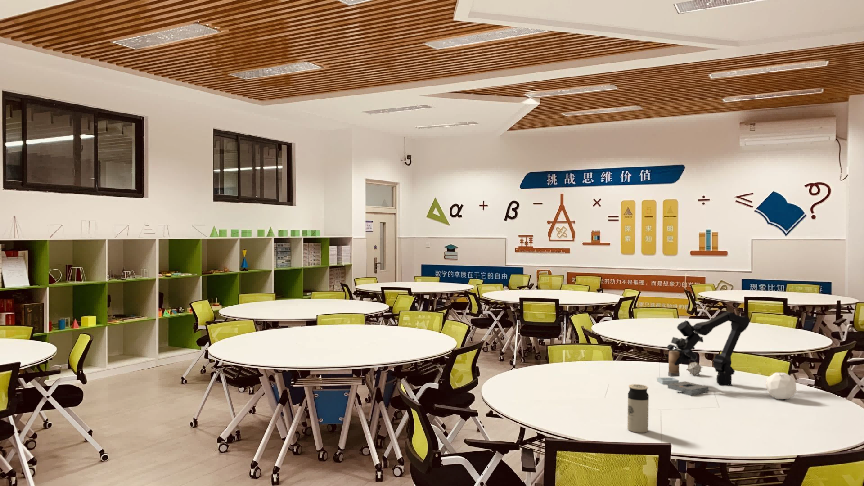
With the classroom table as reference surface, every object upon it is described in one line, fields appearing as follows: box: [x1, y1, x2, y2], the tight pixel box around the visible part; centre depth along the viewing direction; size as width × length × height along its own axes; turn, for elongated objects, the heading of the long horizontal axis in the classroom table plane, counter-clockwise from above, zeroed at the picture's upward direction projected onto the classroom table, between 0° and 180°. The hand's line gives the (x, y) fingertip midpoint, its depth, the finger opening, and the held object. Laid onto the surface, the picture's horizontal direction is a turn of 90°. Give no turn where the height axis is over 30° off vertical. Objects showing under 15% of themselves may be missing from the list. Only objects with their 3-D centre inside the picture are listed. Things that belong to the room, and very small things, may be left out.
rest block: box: [656, 377, 680, 385], centre depth 339 cm, size 9×7×3 cm
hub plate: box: [667, 381, 710, 397], centre depth 324 cm, size 14×14×3 cm
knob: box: [667, 350, 681, 378], centre depth 333 cm, size 5×5×13 cm
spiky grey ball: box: [686, 360, 702, 377], centre depth 364 cm, size 9×8×10 cm
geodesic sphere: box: [765, 371, 797, 400], centre depth 310 cm, size 14×14×14 cm
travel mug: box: [627, 383, 650, 434], centre depth 255 cm, size 8×8×18 cm
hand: (671, 363), depth 332 cm, fingers closed on knob, 5 cm apart
